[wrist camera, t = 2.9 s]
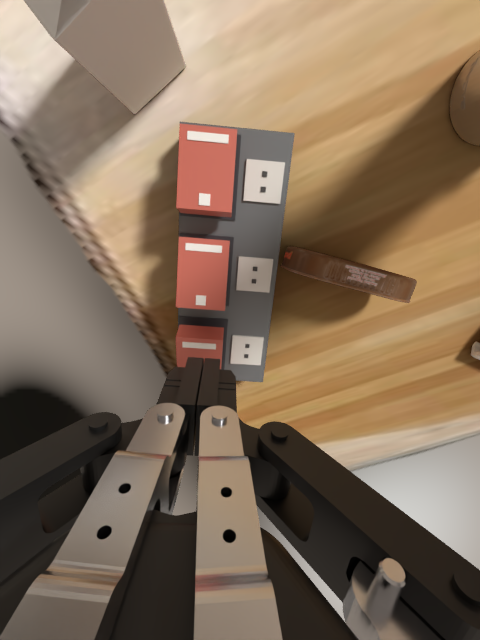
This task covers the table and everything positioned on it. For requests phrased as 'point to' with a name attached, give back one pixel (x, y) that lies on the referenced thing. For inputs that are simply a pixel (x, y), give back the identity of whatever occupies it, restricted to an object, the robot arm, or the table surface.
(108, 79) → the milk carton
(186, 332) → the rocker
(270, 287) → the power strip
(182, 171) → the block
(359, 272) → the tin
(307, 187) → the table surface
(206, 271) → the block
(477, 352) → the white flat bar
